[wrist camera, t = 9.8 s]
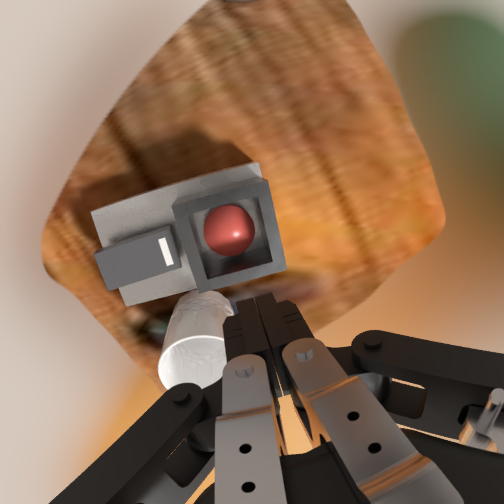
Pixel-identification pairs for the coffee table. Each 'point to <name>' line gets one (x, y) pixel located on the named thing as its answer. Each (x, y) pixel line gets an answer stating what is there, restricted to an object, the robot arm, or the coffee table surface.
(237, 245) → the button
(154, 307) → the coffee table surface
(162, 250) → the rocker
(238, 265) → the grey switch box
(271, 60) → the coffee table surface
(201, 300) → the white cup
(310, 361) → the robot arm
